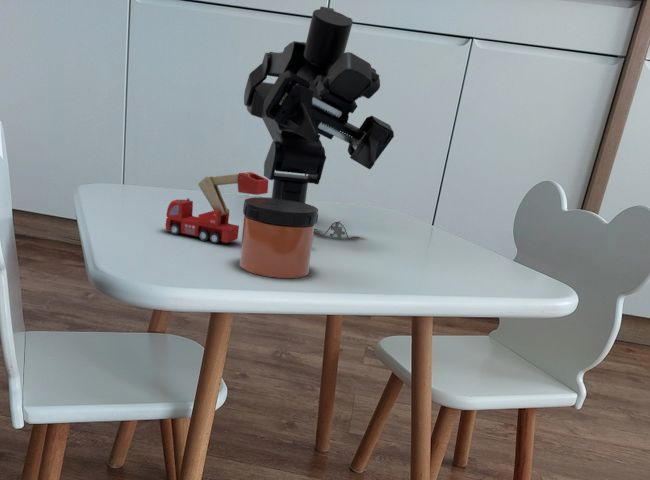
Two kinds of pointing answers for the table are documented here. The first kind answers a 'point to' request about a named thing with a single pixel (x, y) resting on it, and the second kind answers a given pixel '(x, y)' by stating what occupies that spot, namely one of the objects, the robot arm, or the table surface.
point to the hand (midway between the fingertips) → (344, 152)
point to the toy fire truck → (217, 220)
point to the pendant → (337, 231)
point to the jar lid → (280, 211)
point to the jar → (276, 249)
